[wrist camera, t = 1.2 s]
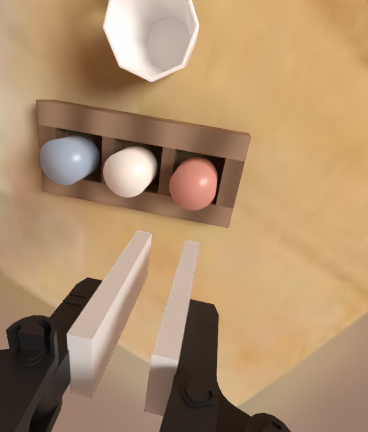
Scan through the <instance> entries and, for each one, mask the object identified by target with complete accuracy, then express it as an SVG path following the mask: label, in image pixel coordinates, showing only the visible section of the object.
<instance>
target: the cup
mask: <svg viewBox="0 0 368 432" xmlns="http://www.w3.org/2000/svg"><path fill="white" fill-rule="evenodd" d="M103 29H104V32H105V34H106V37H107V39H108V41H109V44H110V46H111V49H112V51H113V53H114V56H115V58H116V61H117V63H118V65H119V67H121V68H123V69H125V70H127V71H129V72H131V73H133V74H135V75H137V76H139V77H141V78H144V79H146V80H148V81H150V82H153V81H156V80H158V79H160V78H163V77H165V76H167V75H169V74H172V73H174V72H176V71H178V70H180V69H182V68H184V67H186V66H187V64H188V61H189V58H190V56H191V53H192V50H193V48H194V45H195V42H196V40H197V34H198V30H199V23H198V20H197V17H196V14H195V10H194V7H193V4H192V1H191V0H109V2H108V7H107V11H106V15H105V19H104V24H103Z"/></svg>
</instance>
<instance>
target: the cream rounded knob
mask: <svg viewBox="0 0 368 432" xmlns="http://www.w3.org/2000/svg"><path fill="white" fill-rule="evenodd" d="M157 171H158V164H157V160H156V158H155V156H154V155H153V153H152V152H151V151H150V150H148V149H147V148H145V147H143V146H139V145H133V146H129V147H127V148H125V149H123V150H121V151H119V152H117V153H115V154H113V155H111V156H110V157H109V158H108V159H107V160H106V162H105V164H104V168H103V176H104V180H105V182H106V184H107V186H108V187H109V188H110V189H111V190H112V191H113V192H114V193H115V194H117V195H119V196H122V197H135V196H137V195H139V194H140V193H142V192H143V190H144V189H145V188H146V187H147V186H148V185H149V184H150V183H151V182H152V181H153V179H154V178H155V177H156V174H157Z"/></svg>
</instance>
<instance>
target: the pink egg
mask: <svg viewBox="0 0 368 432" xmlns="http://www.w3.org/2000/svg"><path fill="white" fill-rule="evenodd" d="M216 186H217V170H216V168H215V166H214V165H213V163H212V162H211V161H209V160H208V159H206V158H204V157H200V156H193V157H189V158H187V159H185V160H184V161H183V162H182V163H181V164H180V165H179V167H178V168H177V170H176V171H175V172H174V174H173V175H172V177H171V180H170V183H169V190H170V194H171V196H172V198H173V200H174V201H175V202H176V203H177V204H178V205H179V206H181V207H182V208H185V209H188V210H199V209H202V208H204V207H206V206H208V205H209V204H210V203H211V202H212V200H213V199H214V196H215V193H216Z"/></svg>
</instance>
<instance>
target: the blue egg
mask: <svg viewBox="0 0 368 432" xmlns="http://www.w3.org/2000/svg"><path fill="white" fill-rule="evenodd" d="M39 161H40V165H41V168H42V170H43V172H44V173H45V174H46V176H47V177H48V178H49V179H51V180H52V181H53V182H55V183H57V184H60V185H71V184H73V183H75V182H77V181H79V180H81V179H82V178H84V177H86V176H88V175H90V174H91V173H93V172H95V171H96V170H97V168H98V166H99V164H100V153H99V150H98V148H97V146H96V145H95V143H94V142H93V141H92V140H91V139H89V138H88V137H86V136H83V135H72V136H68V137H64V138H59V139H55V140H51V141H48V142H46V143H45V144H44V145H43V146H42V148H41V150H40V153H39Z"/></svg>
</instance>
